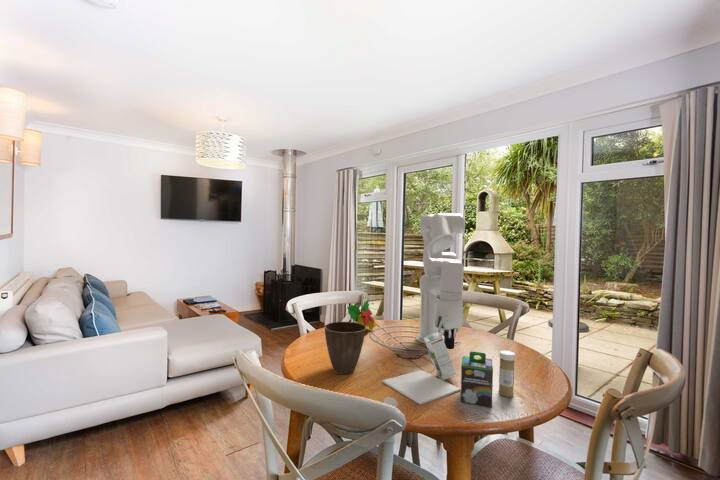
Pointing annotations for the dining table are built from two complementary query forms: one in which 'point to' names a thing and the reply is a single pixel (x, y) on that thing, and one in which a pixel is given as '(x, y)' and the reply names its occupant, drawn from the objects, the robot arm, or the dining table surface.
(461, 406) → the dining table surface
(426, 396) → the mat
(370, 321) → the ornament
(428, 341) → the syrup box
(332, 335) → the plant pot
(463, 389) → the chalk box
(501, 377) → the sprinkles bottle
